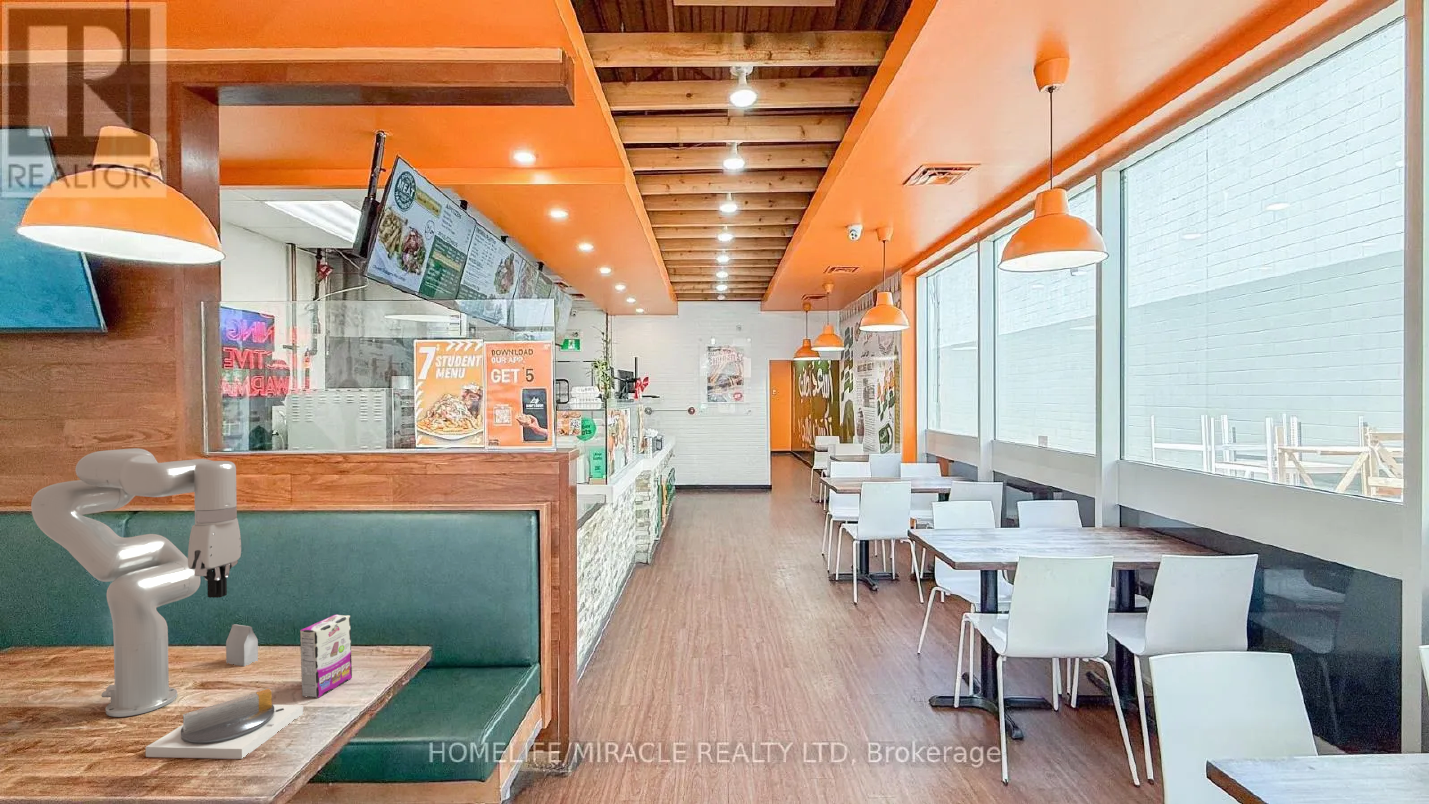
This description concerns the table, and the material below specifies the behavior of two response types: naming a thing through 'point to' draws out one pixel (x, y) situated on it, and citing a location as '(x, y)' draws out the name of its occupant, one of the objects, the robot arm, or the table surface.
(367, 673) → the table surface
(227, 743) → the dial plate
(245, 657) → the grey milk carton
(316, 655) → the candy bar box
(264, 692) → the dial
